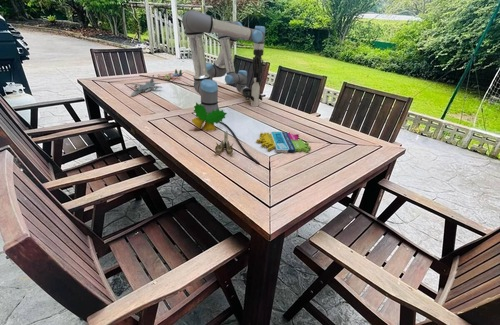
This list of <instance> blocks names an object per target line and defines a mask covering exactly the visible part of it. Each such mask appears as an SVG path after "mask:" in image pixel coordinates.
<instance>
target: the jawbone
mask: <svg viewBox="0 0 500 325" xmlns="http://www.w3.org/2000/svg"><path fill="white" fill-rule="evenodd" d="M223 135H224V136H223V140H222V139H221V142H220V144H218V142H215V144H216V146H215V148H214V149H215V152H214V154H215V155H217V156H218V155H220V153H221V152H223V151H224V150H226V152H227V153H228V155H229V156H233V155H234V154H233V153H234V148H233V144H234V143H230V140H228V139H229V138H228V137H229V136H228V135H229V133H228V131H226V132H224V134H223Z"/></svg>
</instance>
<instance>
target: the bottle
mask: <svg viewBox="0 0 500 325" xmlns="http://www.w3.org/2000/svg"><path fill="white" fill-rule="evenodd" d="M251 90H252V92H251V96H253V97H254V101H252V100H251V99H250V106H251V107H259V104H260V99H259V94H261V93H260V90H261V86H260V82H254V81H253V84H252V85H251Z"/></svg>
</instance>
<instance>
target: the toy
mask: <svg viewBox="0 0 500 325" xmlns="http://www.w3.org/2000/svg"><path fill="white" fill-rule="evenodd" d="M156 76H157V78H162V79H165V80H169V81H170V80H171V79H173V80H178V81H181V80H182V78H181V77H182V76H183V73H182V69H180V70H179V72H178V70H177V69H175V70H174V73H172V72H169V73H168V74H165V75H161V74H158V75H156ZM177 76H178V77H177ZM165 80H164V81H165Z"/></svg>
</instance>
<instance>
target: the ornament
mask: <svg viewBox="0 0 500 325" xmlns="http://www.w3.org/2000/svg"><path fill="white" fill-rule="evenodd" d="M219 110H220V108H219V109H217V110H216V111H214V110H212V112H211V113H208V112H206V109H204V106H201V103H198V102H195V105H194V106H193V112H194V113H195V118H192V119H191V122H192V123H193V125H195V127H197V128H198V129H202V130H203V131H206V132H212V131H213V132H214V131H215V130H216V126H215V124H218V123H219V121H220V122H223V119H226V115H227V114H228V113H227V112H224V110H223V109H221V110H220V111H219ZM207 113H208V115H207ZM214 123H215V124H214Z"/></svg>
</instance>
